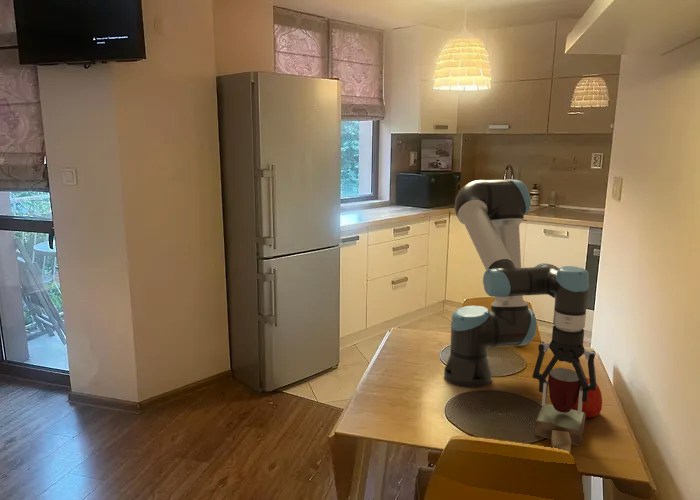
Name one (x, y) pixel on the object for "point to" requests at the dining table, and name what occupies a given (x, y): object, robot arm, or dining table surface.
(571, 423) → the podium
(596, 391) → the apple
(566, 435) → the oak block
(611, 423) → the dining table surface
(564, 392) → the mug
